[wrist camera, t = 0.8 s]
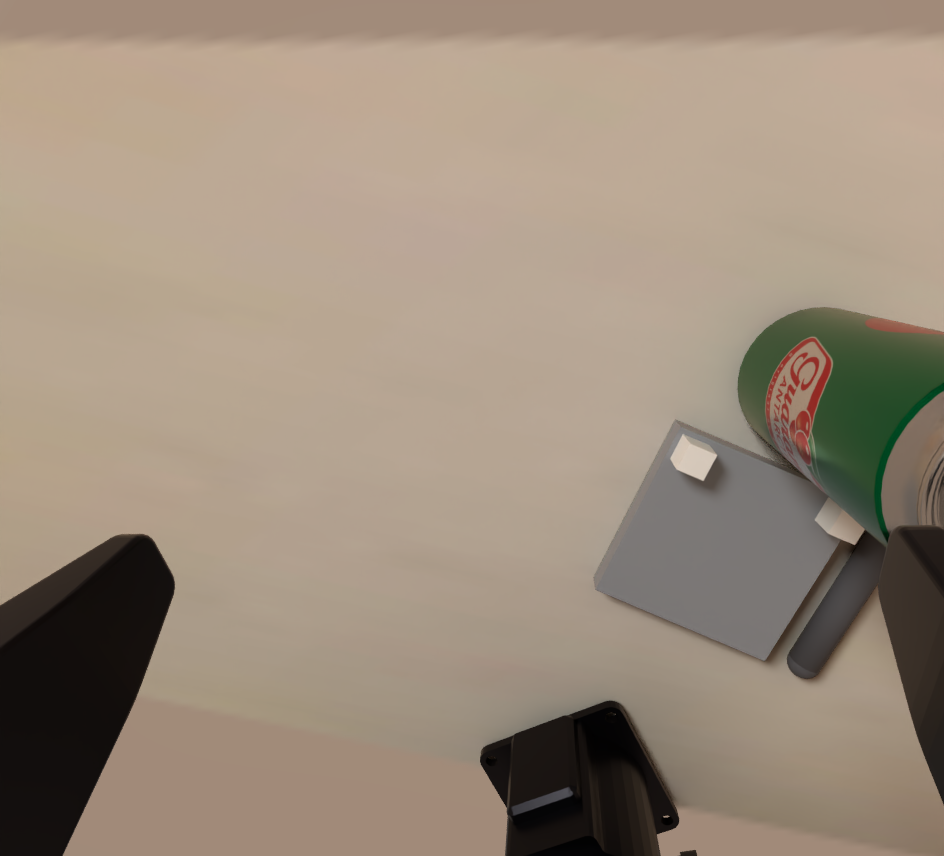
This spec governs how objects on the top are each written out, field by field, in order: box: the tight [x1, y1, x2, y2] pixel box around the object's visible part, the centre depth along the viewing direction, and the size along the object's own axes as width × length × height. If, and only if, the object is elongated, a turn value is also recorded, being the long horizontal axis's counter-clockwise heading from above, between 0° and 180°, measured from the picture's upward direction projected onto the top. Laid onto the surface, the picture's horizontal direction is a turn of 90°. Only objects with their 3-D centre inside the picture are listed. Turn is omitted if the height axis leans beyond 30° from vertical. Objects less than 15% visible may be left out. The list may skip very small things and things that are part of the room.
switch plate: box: [594, 420, 865, 661], centre depth 25 cm, size 7×7×2 cm
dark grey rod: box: [787, 531, 886, 679], centre depth 26 cm, size 7×1×1 cm, turn 158°
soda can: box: [738, 307, 944, 548], centre depth 18 cm, size 5×5×12 cm
